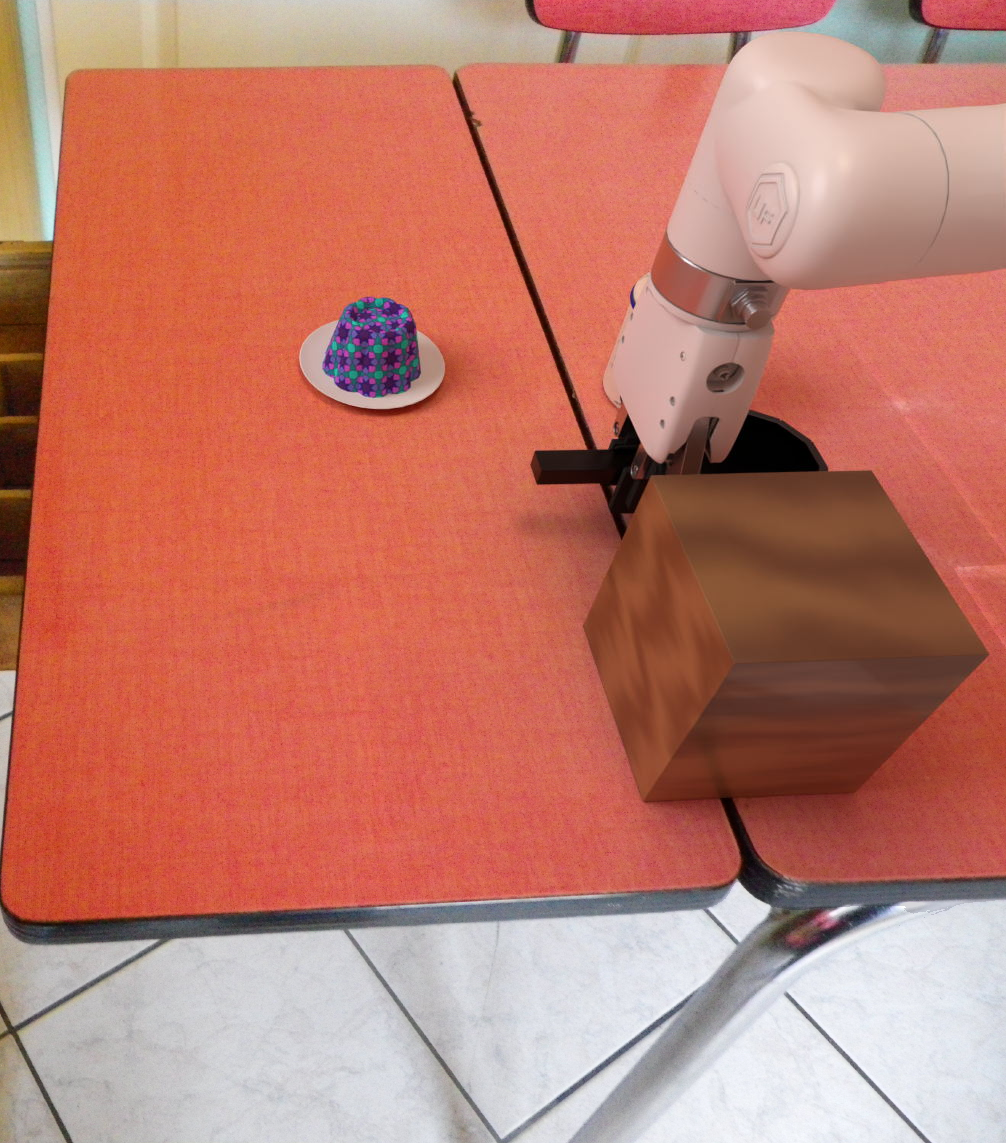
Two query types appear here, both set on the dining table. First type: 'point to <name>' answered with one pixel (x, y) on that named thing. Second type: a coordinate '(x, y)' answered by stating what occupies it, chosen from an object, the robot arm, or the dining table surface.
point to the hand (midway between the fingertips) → (624, 494)
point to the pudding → (372, 357)
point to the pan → (754, 451)
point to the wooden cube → (772, 634)
